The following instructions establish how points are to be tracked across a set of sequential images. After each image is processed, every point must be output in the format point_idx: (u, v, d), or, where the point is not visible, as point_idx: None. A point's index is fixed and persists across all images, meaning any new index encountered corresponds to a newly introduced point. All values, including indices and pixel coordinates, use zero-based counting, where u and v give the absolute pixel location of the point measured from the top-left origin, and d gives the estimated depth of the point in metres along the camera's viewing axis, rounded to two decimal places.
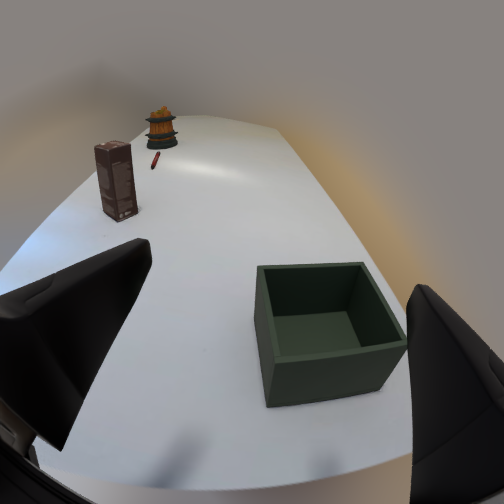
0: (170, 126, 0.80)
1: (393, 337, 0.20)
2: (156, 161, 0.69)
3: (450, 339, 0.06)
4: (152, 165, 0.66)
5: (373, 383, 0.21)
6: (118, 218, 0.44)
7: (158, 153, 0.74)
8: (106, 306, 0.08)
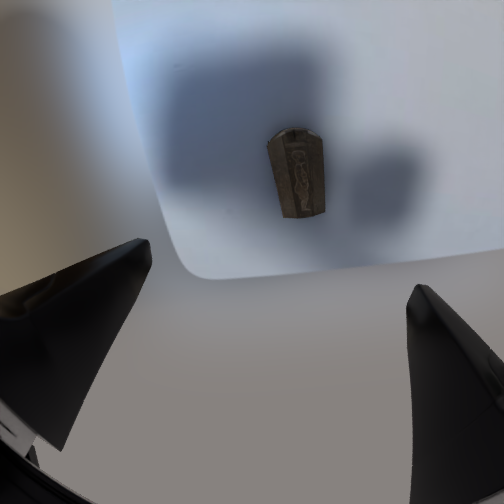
0: None
1: None
2: None
3: (450, 339, 0.06)
4: None
5: None
6: None
7: None
8: (106, 306, 0.08)
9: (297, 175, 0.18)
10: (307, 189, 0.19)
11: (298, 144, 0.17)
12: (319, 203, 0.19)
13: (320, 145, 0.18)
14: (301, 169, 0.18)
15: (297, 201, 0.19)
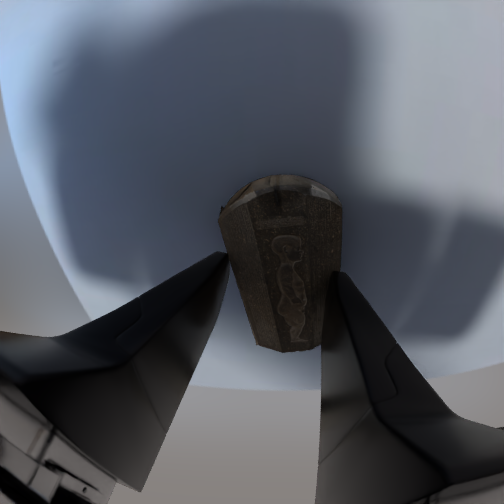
0: None
1: None
2: None
3: (345, 328, 0.06)
4: None
5: None
6: None
7: None
8: (196, 330, 0.07)
9: (283, 285, 0.09)
10: (303, 309, 0.09)
11: (287, 222, 0.08)
12: None
13: (337, 219, 0.08)
14: (293, 274, 0.09)
15: (282, 328, 0.10)
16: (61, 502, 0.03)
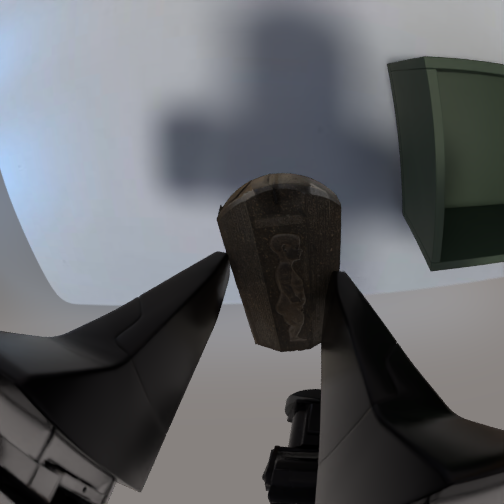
0: None
1: None
2: None
3: (345, 328, 0.06)
4: None
5: None
6: None
7: None
8: (196, 330, 0.07)
9: (282, 284, 0.09)
10: (302, 308, 0.09)
11: (286, 220, 0.08)
12: None
13: (336, 218, 0.08)
14: (291, 272, 0.09)
15: (281, 327, 0.10)
16: (61, 502, 0.03)
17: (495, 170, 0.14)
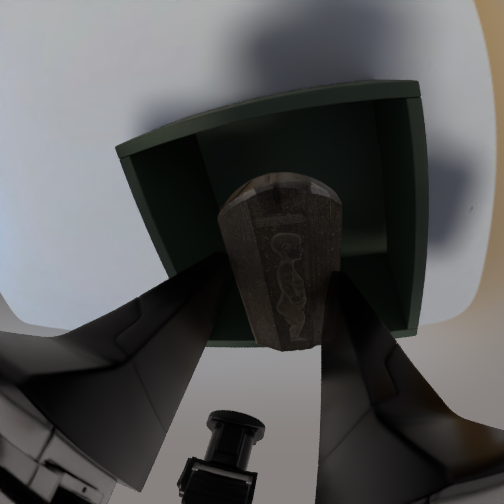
0: None
1: (406, 301, 0.11)
2: None
3: (345, 328, 0.06)
4: None
5: None
6: None
7: None
8: (196, 331, 0.07)
9: (283, 283, 0.09)
10: (303, 307, 0.09)
11: (287, 219, 0.08)
12: None
13: (337, 217, 0.08)
14: (292, 272, 0.09)
15: (282, 326, 0.10)
16: (61, 502, 0.03)
17: (345, 217, 0.15)
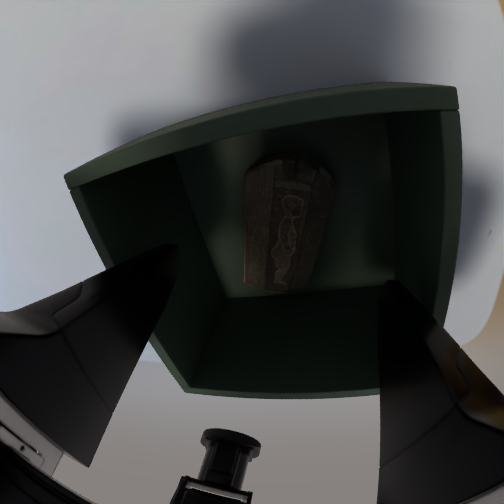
0: None
1: None
2: None
3: (415, 336, 0.06)
4: None
5: None
6: None
7: None
8: (137, 315, 0.08)
9: (281, 233, 0.12)
10: (291, 256, 0.12)
11: (298, 186, 0.11)
12: (302, 276, 0.13)
13: (331, 194, 0.11)
14: (290, 226, 0.12)
15: (270, 268, 0.13)
16: None
17: (348, 245, 0.13)
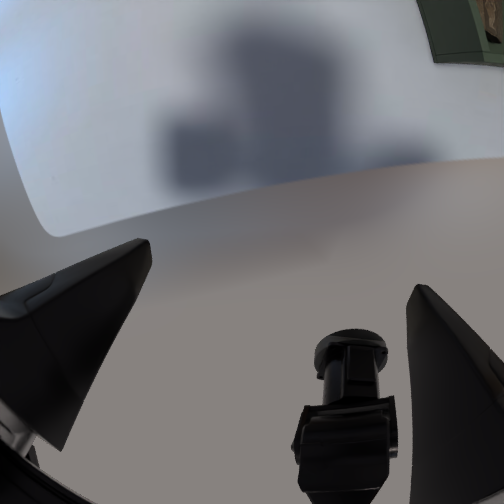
0: None
1: None
2: None
3: (450, 339, 0.06)
4: None
5: None
6: None
7: None
8: (106, 306, 0.08)
9: None
10: (494, 12, 0.08)
11: None
12: (500, 31, 0.09)
13: None
14: None
15: (486, 15, 0.08)
16: None
17: None
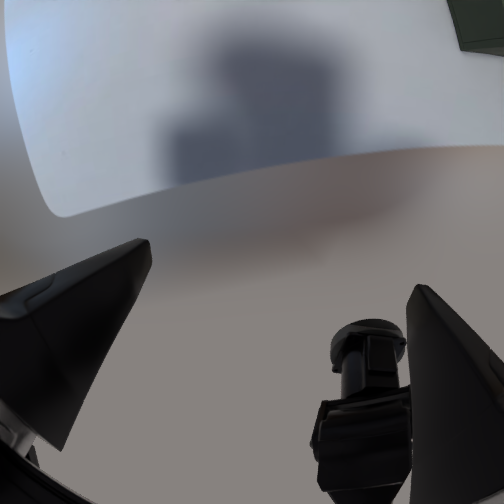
0: None
1: None
2: None
3: (450, 339, 0.06)
4: None
5: None
6: None
7: None
8: (106, 306, 0.08)
9: None
10: None
11: None
12: None
13: None
14: None
15: None
16: None
17: None
